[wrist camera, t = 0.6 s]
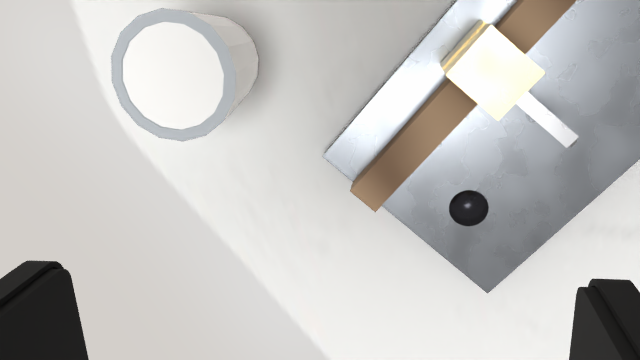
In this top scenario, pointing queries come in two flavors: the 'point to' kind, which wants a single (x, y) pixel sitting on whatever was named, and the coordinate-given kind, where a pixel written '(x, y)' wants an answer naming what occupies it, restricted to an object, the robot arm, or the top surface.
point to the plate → (510, 137)
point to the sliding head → (500, 78)
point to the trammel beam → (447, 108)
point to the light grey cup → (182, 71)
